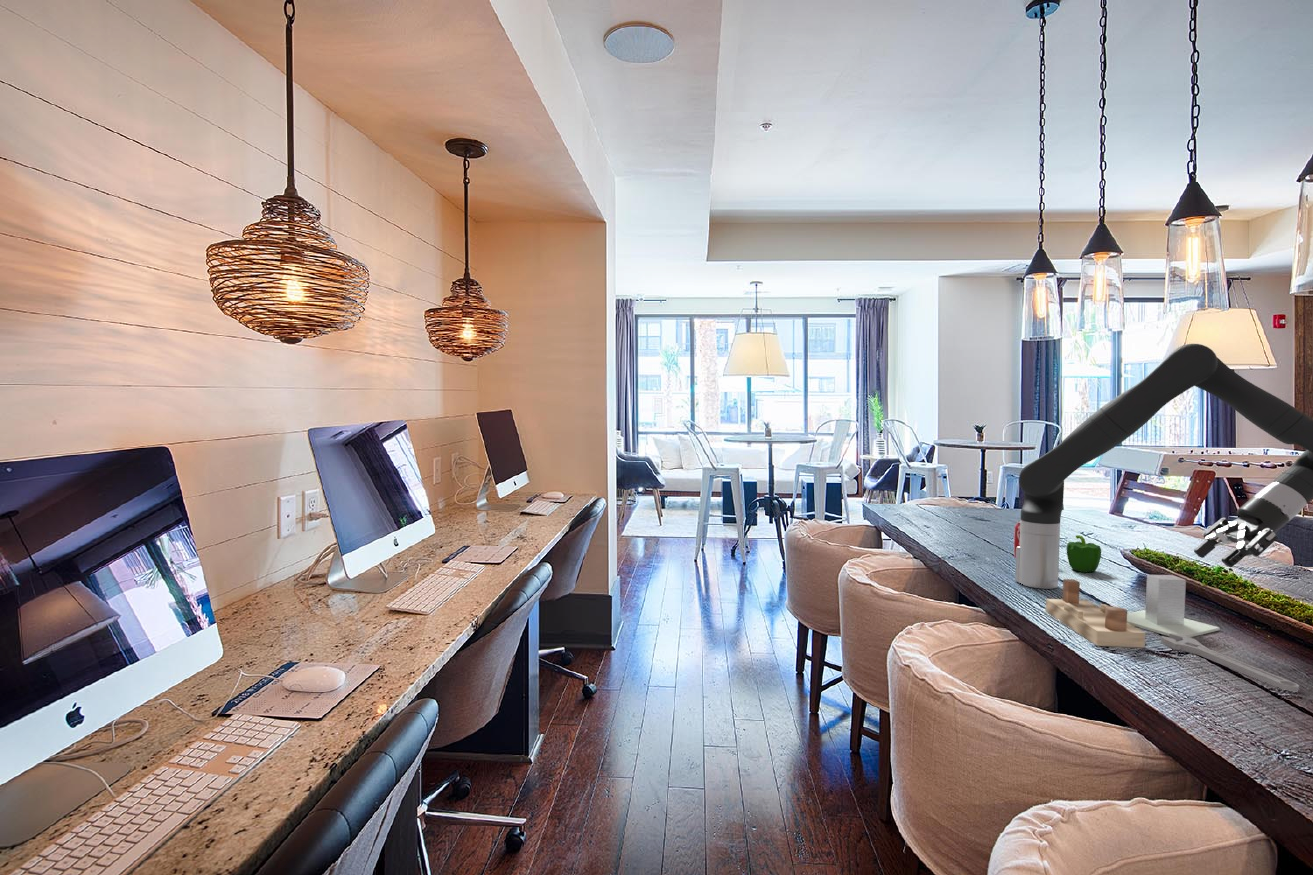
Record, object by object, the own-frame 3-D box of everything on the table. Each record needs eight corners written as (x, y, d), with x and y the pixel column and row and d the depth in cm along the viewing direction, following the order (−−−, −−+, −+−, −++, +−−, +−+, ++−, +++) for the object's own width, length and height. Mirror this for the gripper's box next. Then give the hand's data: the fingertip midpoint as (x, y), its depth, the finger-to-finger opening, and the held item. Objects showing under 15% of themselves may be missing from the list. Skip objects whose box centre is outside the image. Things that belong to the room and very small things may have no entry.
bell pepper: (1105, 574, 189) (1106, 540, 188) (1073, 573, 191) (1074, 538, 190) (1092, 567, 197) (1093, 534, 197) (1061, 566, 199) (1062, 533, 198)
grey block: (1145, 618, 149) (1147, 574, 149) (1171, 619, 149) (1173, 575, 148) (1156, 624, 145) (1159, 579, 145) (1183, 625, 145) (1185, 580, 144)
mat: (1111, 619, 151) (1111, 616, 151) (1149, 611, 156) (1149, 608, 156) (1180, 639, 138) (1180, 636, 138) (1219, 630, 144) (1219, 627, 144)
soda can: (1043, 563, 202) (1044, 524, 201) (1018, 562, 203) (1019, 523, 203) (1035, 558, 209) (1036, 520, 208) (1010, 557, 210) (1011, 519, 210)
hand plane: (1045, 611, 156) (1046, 577, 156) (1086, 612, 155) (1087, 578, 155) (1096, 645, 134) (1098, 606, 134) (1144, 647, 133) (1146, 608, 133)
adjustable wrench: (1304, 695, 113) (1304, 685, 113) (1267, 696, 113) (1268, 685, 113) (1181, 641, 138) (1182, 632, 138) (1152, 641, 138) (1152, 633, 138)
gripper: (1233, 491, 151) (1176, 540, 152) (1285, 500, 136) (1222, 554, 138) (1258, 514, 150) (1200, 563, 152) (1313, 526, 136) (1249, 580, 138)
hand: (1211, 559), depth 145 cm, fingers open, 8 cm apart
